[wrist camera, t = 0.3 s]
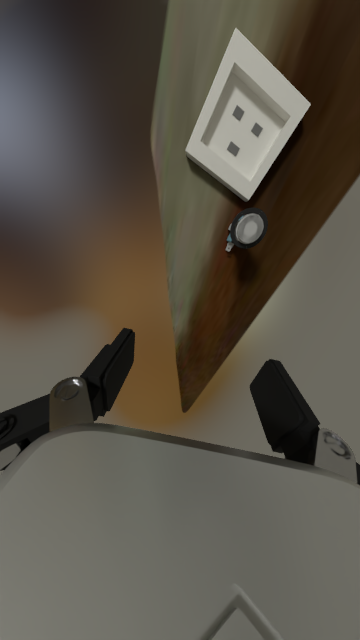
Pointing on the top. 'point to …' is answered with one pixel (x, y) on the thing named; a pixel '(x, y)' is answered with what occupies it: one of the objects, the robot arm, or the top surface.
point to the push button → (247, 228)
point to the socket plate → (245, 119)
